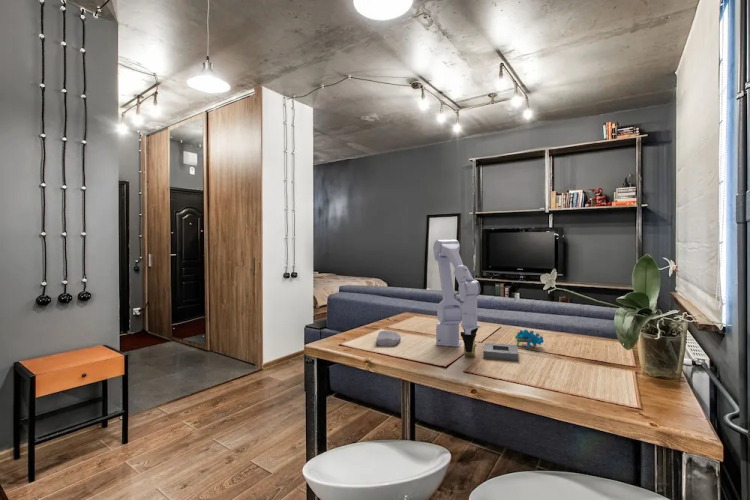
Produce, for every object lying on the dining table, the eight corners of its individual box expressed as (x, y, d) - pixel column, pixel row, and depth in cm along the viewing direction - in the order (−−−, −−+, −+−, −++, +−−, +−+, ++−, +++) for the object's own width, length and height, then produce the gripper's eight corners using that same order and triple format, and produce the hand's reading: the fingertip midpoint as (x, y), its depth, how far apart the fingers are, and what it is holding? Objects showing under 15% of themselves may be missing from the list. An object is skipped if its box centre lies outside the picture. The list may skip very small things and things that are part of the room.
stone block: (400, 343, 160) (378, 338, 161) (402, 333, 160) (380, 328, 161) (398, 352, 148) (374, 346, 150) (400, 341, 148) (376, 335, 149)
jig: (483, 358, 132) (483, 351, 132) (484, 348, 144) (484, 342, 144) (518, 361, 128) (518, 354, 128) (517, 351, 140) (517, 345, 140)
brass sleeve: (463, 357, 134) (463, 338, 134) (464, 353, 138) (464, 335, 137) (474, 358, 132) (474, 339, 132) (475, 354, 136) (475, 336, 136)
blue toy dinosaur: (548, 343, 145) (538, 328, 141) (545, 356, 142) (534, 341, 138) (521, 341, 153) (511, 327, 149) (518, 353, 150) (507, 339, 146)
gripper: (479, 317, 127) (479, 355, 127) (481, 310, 140) (481, 344, 140) (458, 316, 129) (459, 353, 129) (463, 309, 143) (463, 343, 143)
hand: (469, 349), depth 135 cm, fingers open, 7 cm apart
